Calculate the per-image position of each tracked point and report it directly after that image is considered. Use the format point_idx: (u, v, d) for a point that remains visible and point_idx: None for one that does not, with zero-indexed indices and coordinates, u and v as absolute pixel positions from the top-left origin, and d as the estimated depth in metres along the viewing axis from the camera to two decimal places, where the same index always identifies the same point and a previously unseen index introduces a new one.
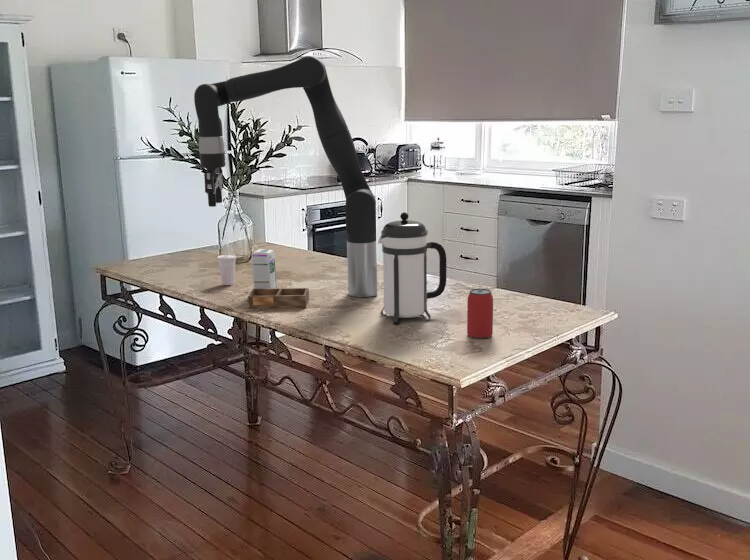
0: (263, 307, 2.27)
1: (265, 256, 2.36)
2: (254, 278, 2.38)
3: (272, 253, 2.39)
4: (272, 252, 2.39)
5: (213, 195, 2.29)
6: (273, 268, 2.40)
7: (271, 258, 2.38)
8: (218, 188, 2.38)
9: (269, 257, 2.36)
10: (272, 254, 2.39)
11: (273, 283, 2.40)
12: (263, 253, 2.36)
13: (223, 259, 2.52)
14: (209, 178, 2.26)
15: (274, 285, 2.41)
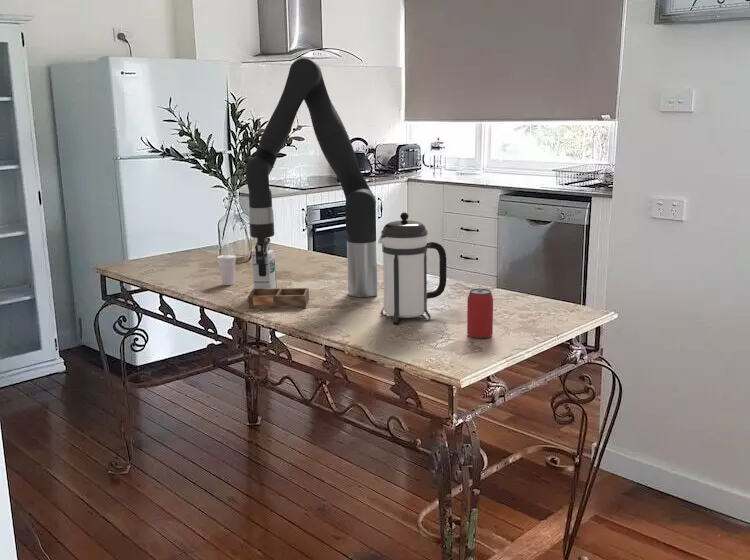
0: (263, 307, 2.27)
1: None
2: (254, 278, 2.38)
3: (272, 253, 2.39)
4: (272, 252, 2.39)
5: (263, 265, 2.35)
6: (273, 268, 2.40)
7: (271, 258, 2.38)
8: None
9: (269, 257, 2.36)
10: (272, 254, 2.39)
11: (273, 283, 2.40)
12: None
13: (223, 259, 2.52)
14: (260, 251, 2.32)
15: (274, 285, 2.41)
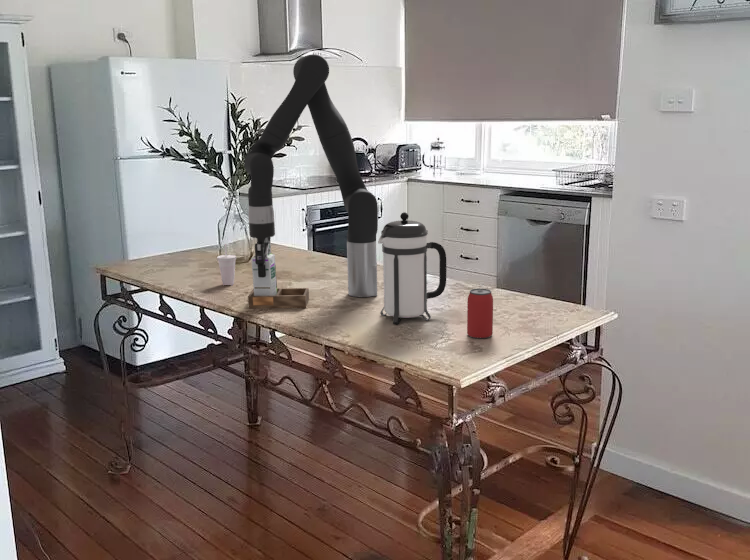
0: (263, 307, 2.27)
1: (266, 261, 2.25)
2: (254, 284, 2.27)
3: (273, 257, 2.28)
4: (273, 256, 2.28)
5: (263, 266, 2.23)
6: (273, 273, 2.29)
7: (272, 263, 2.27)
8: None
9: (270, 262, 2.25)
10: (273, 258, 2.28)
11: (274, 289, 2.29)
12: None
13: (223, 259, 2.52)
14: (260, 249, 2.20)
15: (275, 291, 2.30)
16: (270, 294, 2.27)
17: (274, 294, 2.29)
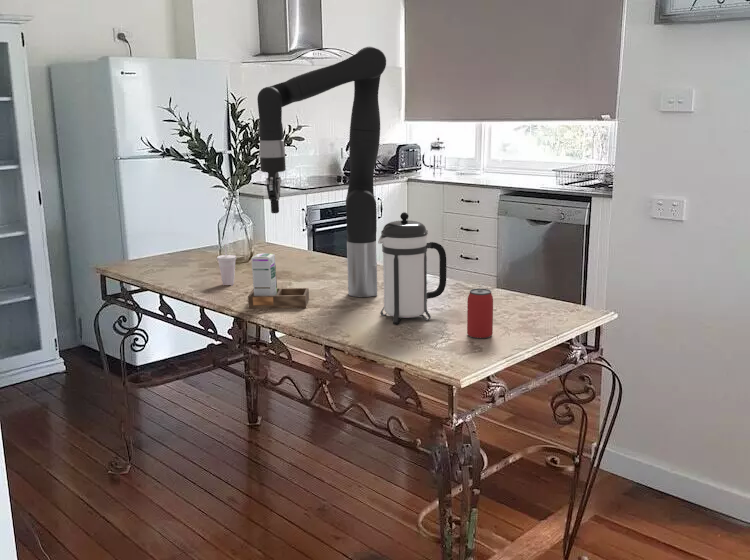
0: (263, 307, 2.27)
1: (266, 261, 2.25)
2: (254, 284, 2.27)
3: (273, 257, 2.28)
4: (273, 256, 2.28)
5: (276, 202, 2.30)
6: (273, 273, 2.29)
7: (272, 263, 2.27)
8: None
9: (270, 262, 2.25)
10: (273, 258, 2.28)
11: (274, 289, 2.29)
12: (264, 257, 2.25)
13: (223, 259, 2.52)
14: (272, 190, 2.25)
15: (275, 291, 2.30)
16: (270, 294, 2.27)
17: (274, 294, 2.29)
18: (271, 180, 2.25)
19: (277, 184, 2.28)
